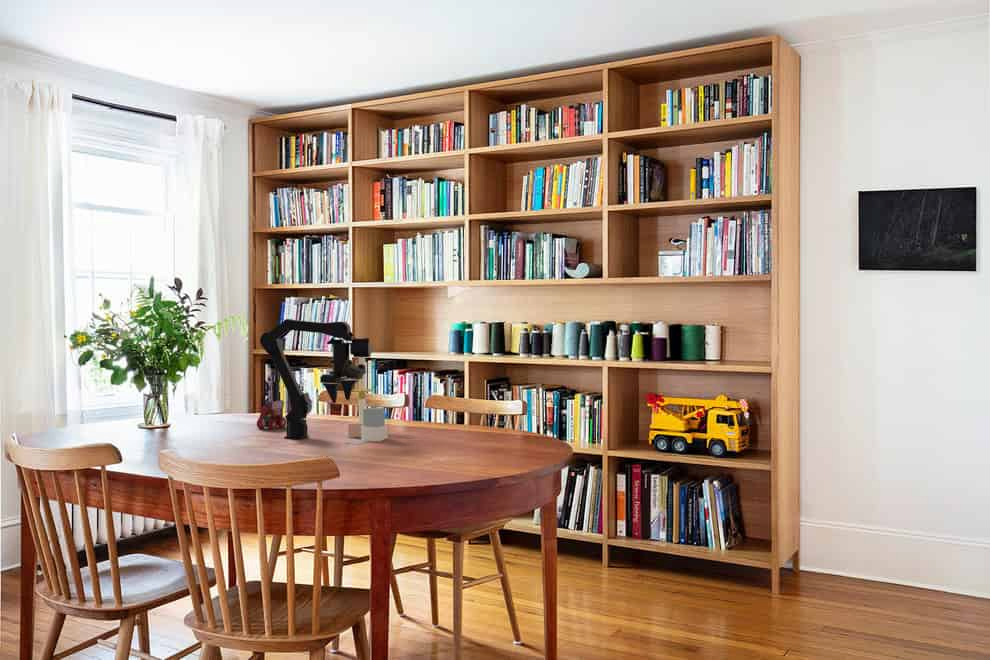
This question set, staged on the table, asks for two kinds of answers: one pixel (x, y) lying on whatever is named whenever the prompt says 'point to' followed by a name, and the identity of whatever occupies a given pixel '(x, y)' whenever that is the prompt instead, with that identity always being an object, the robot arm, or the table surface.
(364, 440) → the tile
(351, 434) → the terracotta block
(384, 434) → the cream block
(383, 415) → the grey block
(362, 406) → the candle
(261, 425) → the toy fire truck
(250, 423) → the table surface
